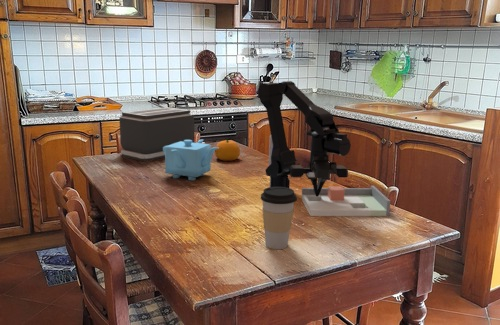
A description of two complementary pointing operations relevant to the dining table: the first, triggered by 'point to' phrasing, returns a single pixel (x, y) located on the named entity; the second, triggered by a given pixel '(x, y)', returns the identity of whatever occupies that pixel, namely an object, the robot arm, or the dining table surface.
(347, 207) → the board
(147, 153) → the toaster
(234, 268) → the dining table surface
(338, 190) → the brick block
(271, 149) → the beverage can
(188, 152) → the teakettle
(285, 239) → the coffee cup
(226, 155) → the fruit
